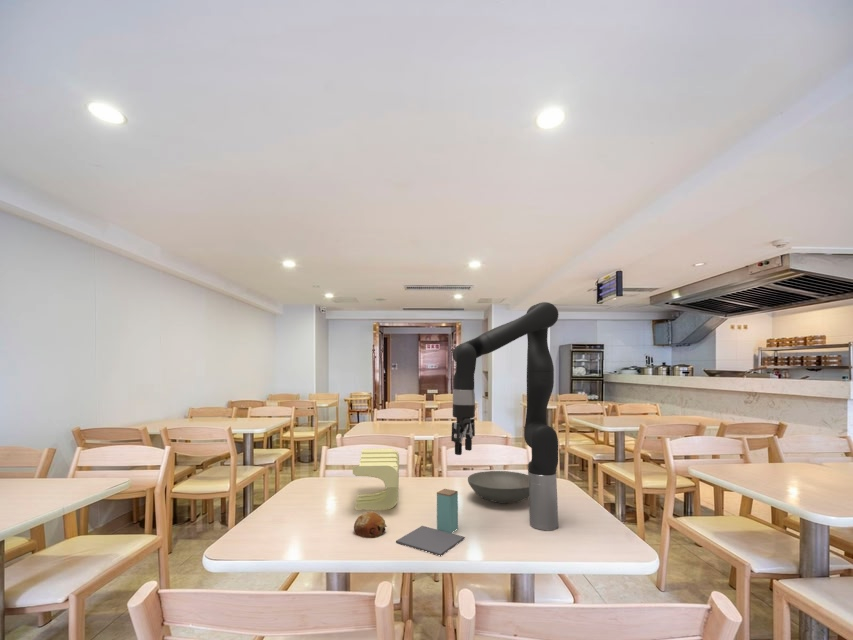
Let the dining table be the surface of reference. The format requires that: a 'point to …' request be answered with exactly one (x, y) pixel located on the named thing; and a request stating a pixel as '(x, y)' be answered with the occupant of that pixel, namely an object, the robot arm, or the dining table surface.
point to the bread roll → (369, 525)
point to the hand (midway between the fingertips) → (463, 452)
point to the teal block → (447, 510)
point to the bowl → (500, 486)
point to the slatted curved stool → (381, 467)
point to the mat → (430, 540)
